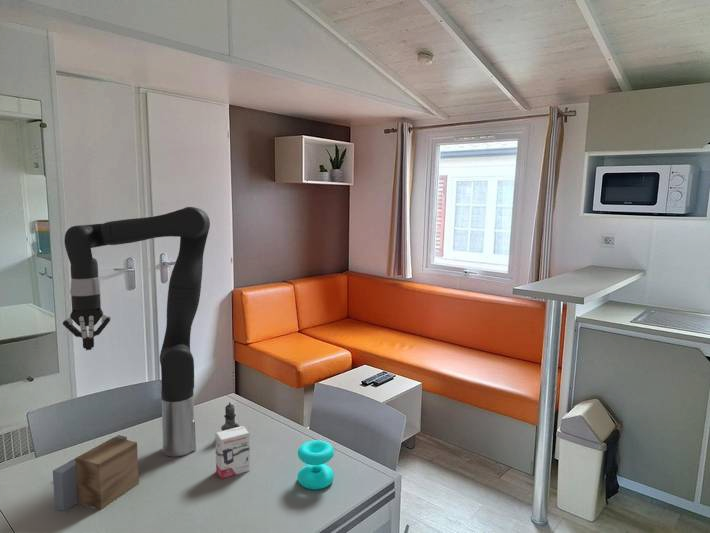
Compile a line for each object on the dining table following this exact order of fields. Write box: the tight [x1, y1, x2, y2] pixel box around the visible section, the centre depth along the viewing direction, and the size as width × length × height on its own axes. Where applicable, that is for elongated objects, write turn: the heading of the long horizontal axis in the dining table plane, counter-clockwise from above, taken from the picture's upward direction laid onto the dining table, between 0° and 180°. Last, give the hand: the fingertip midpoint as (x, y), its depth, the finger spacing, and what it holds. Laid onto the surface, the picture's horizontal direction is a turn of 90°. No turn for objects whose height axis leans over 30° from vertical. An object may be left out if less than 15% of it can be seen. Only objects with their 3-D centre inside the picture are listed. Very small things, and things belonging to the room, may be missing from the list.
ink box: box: [214, 425, 251, 480], centre depth 134 cm, size 8×5×12 cm, turn 123°
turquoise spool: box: [297, 439, 335, 490], centre depth 130 cm, size 10×10×10 cm
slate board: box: [52, 434, 128, 512], centre depth 125 cm, size 3×20×10 cm, turn 160°
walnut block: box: [74, 436, 140, 511], centre depth 123 cm, size 8×12×12 cm, turn 160°
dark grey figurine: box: [220, 402, 240, 431], centre depth 155 cm, size 6×6×12 cm
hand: (88, 349), depth 142 cm, fingers closed
